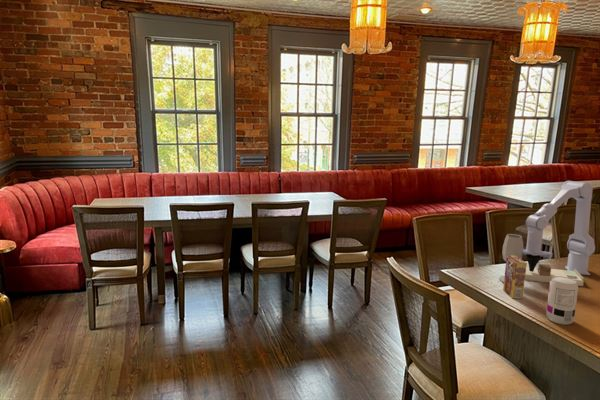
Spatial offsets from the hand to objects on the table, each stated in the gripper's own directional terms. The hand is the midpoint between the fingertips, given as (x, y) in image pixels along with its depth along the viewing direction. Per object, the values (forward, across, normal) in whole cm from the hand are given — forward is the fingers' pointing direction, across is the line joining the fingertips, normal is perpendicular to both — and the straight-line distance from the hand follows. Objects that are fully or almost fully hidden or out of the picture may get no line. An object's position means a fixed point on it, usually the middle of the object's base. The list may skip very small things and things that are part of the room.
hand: (531, 270), depth 178 cm
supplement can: (+4, +2, -42) cm, 42 cm away
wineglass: (+4, -9, -8) cm, 13 cm away
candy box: (+4, -10, -22) cm, 25 cm away
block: (+1, +5, 0) cm, 5 cm away
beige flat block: (+3, +8, +3) cm, 9 cm away
